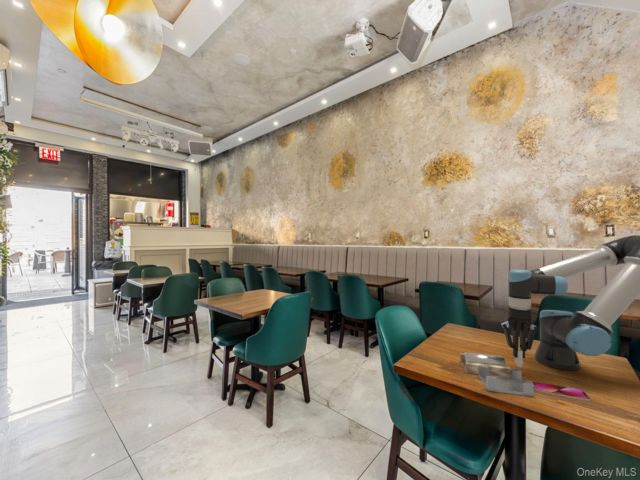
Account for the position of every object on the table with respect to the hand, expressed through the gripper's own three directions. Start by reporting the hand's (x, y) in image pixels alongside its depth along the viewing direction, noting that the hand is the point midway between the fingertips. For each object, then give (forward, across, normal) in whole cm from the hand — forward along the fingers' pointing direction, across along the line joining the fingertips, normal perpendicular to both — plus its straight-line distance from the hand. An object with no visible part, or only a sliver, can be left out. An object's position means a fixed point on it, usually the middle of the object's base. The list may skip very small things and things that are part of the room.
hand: (518, 365), depth 112 cm
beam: (+3, +13, 0) cm, 13 cm away
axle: (+3, +13, 0) cm, 13 cm away
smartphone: (+4, -8, +12) cm, 15 cm away
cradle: (+3, +10, +13) cm, 17 cm away
